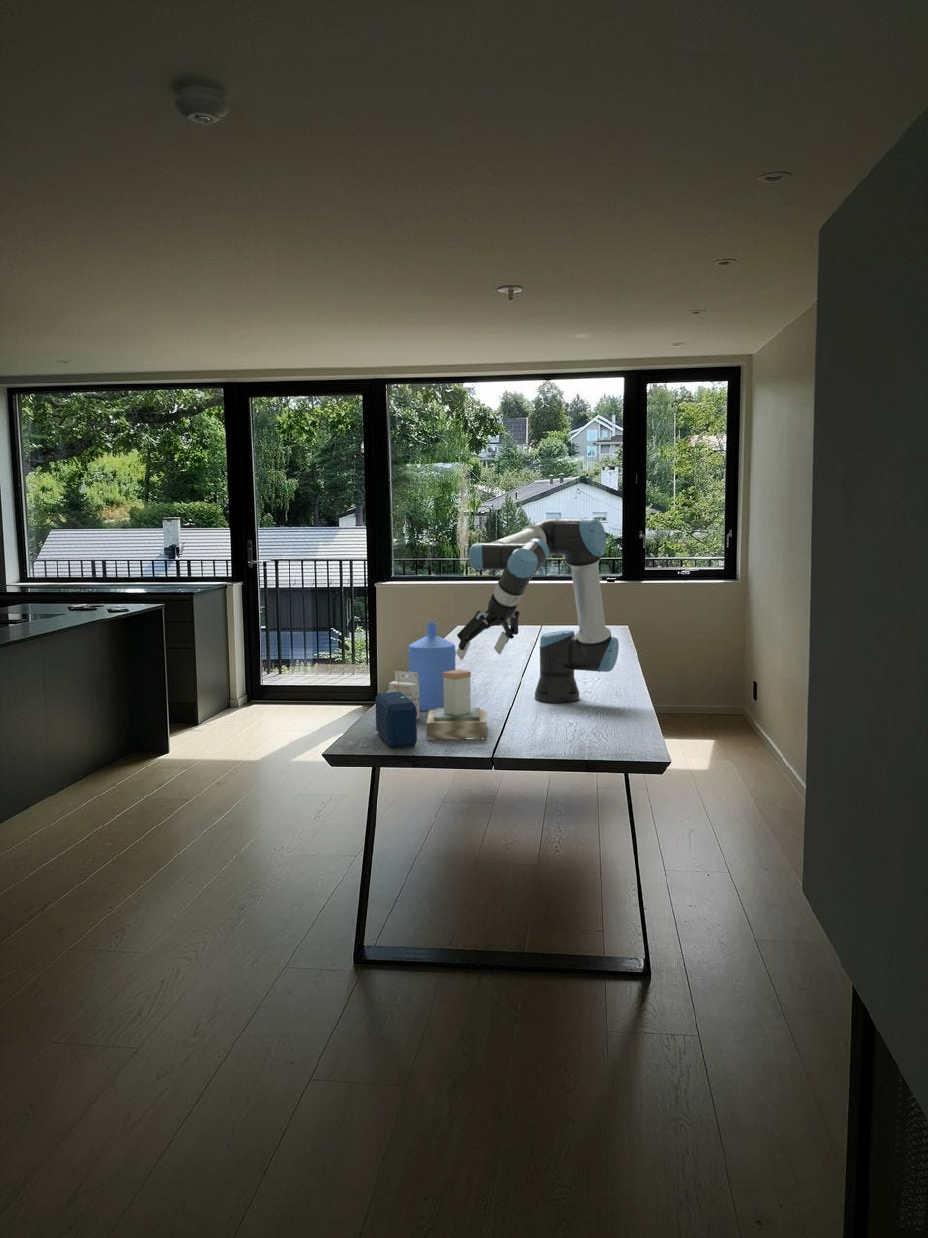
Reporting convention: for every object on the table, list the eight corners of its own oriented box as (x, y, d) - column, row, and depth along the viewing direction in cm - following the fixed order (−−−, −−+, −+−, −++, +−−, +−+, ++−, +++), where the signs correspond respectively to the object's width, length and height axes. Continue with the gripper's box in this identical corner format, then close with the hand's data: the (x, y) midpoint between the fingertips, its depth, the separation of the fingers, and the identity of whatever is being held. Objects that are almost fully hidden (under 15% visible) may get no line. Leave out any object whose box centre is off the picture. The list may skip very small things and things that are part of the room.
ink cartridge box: (388, 720, 287) (387, 673, 285) (395, 716, 292) (394, 670, 290) (414, 721, 284) (413, 674, 283) (420, 718, 289) (419, 672, 287)
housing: (471, 712, 269) (470, 671, 268) (455, 715, 265) (455, 674, 264) (458, 709, 273) (458, 669, 272) (443, 712, 269) (442, 672, 267)
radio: (420, 747, 253) (419, 675, 251) (389, 750, 251) (387, 678, 249) (403, 730, 273) (402, 664, 271) (374, 732, 271) (373, 665, 269)
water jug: (446, 713, 295) (445, 627, 291) (401, 710, 300) (399, 625, 297) (463, 704, 309) (462, 621, 306) (420, 701, 315) (418, 619, 311)
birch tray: (486, 725, 278) (486, 706, 277) (486, 739, 261) (486, 718, 260) (430, 725, 278) (429, 706, 278) (426, 739, 261) (426, 719, 261)
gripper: (475, 611, 244) (449, 668, 256) (547, 604, 258) (518, 657, 271) (462, 593, 248) (436, 649, 260) (533, 586, 262) (506, 640, 275)
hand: (478, 653), depth 266 cm, fingers open, 13 cm apart
